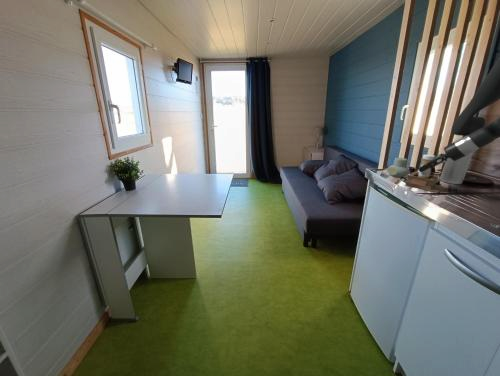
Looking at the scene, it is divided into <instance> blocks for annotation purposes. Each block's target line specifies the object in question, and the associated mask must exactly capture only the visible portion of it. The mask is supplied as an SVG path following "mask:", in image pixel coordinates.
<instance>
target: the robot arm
mask: <svg viewBox="0 0 500 376" xmlns="http://www.w3.org/2000/svg"><path fill="white" fill-rule="evenodd" d="M499 100H500V56H499V57H498V58H497V60H496V61H495V63H494V65H493V66H492V68H491V69H490V71H489V72H488V74H487V75H486V76H485V77H484V79H483V81H482V82H481V84H480V85H479V86H478V88H477V90H476V91H475V92H474V95H473V96H472V99H470V101H469V102H468V104H467V105H466V106H465V107H464V109H463V111H461V113H460V114H459V115H458V116H457V118H456V119H455V121H454V122H453V124H452V128H451V133H452V135H455V136H461V138H459V139H457V140H454V141H453V142H451V143H450V144H448V145H445V146H444V147H443V151H444V152H445V153H440V154H438V155H437V156H435V158H434V159H432V160H431V162H429V163H426V164H425V165H424V166H422V167H421V166H419V167H418V168H417V170H418V172H419V171H420V172H423V171H425V170H427V169H428V168H431V169H432V168H434V167H437V166H439V165H441V164H444V165H443V169H442V171H441V175H440V177H439V181H440V182H444V183H447V184H452V185H462V184H463V181H464V179H465V177H466V174H467V171H468V168H469V165H470V163H471V159H472V156H473V154H474V152H476V151H478V150H479V149H481V148H483V147H485V146H487V145H489V144H491V143H492V142H494V141H495V140H497V139H499V138H500V116H499V118H497V119H495V120H493V121H492V122H490V123H489V124H487V125H486V118H485V117H484V116H475V115H477V113H479V112H480V111H482V110H484V109H485V108H487V107H489V106H490V105H491V106H492V105H493V104H494V103H496V102H497V101H499ZM430 163H433V165H431V164H430Z"/></svg>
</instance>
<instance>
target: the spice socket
mask: <svg viewBox="0 0 500 376" xmlns="http://www.w3.org/2000/svg"><path fill="white" fill-rule="evenodd" d="M418 174H419V172H416V171H415V172H412V173H409V174H408V175H407V176H406V177H407V178H406V181H405V185H404V186H406V187H409V188H410V187H411V188H414V189H418V190H422V191H427V192H430V193H435V194H438V193H440V192H441V190H443V189H444V188H445V187H444V185H439V184H437V183H438V182H437V181H438V179H439V176H435V175H432V174H430V176H429V179H427V178H422V177H418Z"/></svg>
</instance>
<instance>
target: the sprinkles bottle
mask: <svg viewBox="0 0 500 376" xmlns="http://www.w3.org/2000/svg"><path fill="white" fill-rule="evenodd" d="M435 157H436V155H433V154H423V156H422V160H421V161H422V162H421V164H420V167H422V166H424V165H425V164H426V163H429V162H431V160H432V159H434V158H435ZM430 164H431V165H433V163H430ZM431 172H432V168H428V169H427V170H425V171H423V172H420V171H419V170H418V173H419V174H418V177H422V178H427V179H429V176H430V175H431Z"/></svg>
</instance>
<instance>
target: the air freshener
mask: <svg viewBox="0 0 500 376" xmlns="http://www.w3.org/2000/svg"><path fill="white" fill-rule="evenodd" d="M407 162H408V159H407V158H405V157H395V158H394V161H393V164H391V165H389V166H388V167H387V169H386V171H387V174H389V175H390V176H392V177H394V178H404V177H403V176H405V177H407V176H408V175H410V174H411V171H410V169H409V168H408V166H407ZM406 175H407V176H406Z"/></svg>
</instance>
